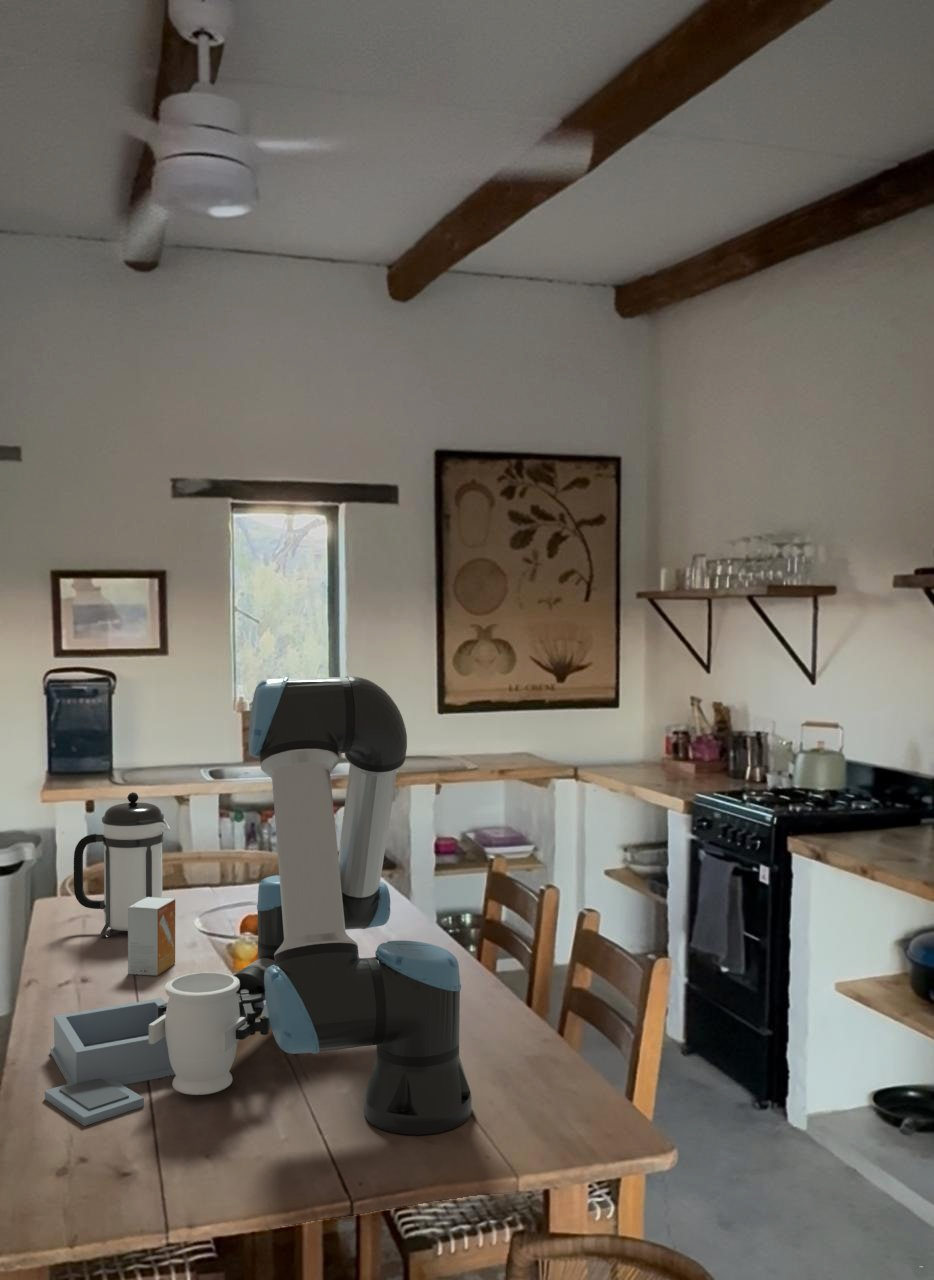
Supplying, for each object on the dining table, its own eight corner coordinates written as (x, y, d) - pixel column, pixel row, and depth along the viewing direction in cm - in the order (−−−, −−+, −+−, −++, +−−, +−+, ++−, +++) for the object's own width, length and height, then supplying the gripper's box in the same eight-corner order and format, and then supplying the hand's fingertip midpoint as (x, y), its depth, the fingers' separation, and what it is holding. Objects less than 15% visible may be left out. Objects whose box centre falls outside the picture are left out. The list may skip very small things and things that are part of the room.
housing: (196, 1070, 179) (195, 1031, 178) (73, 1095, 170) (73, 1054, 169) (163, 1032, 194) (163, 996, 194) (50, 1052, 185) (50, 1015, 185)
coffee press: (146, 916, 264) (146, 784, 263) (182, 931, 252) (181, 793, 251) (72, 931, 252) (71, 792, 251) (105, 947, 241) (104, 802, 240)
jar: (168, 1104, 164) (168, 998, 163) (161, 1074, 174) (161, 974, 173) (245, 1093, 167) (245, 990, 167) (233, 1065, 177) (234, 967, 177)
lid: (143, 1106, 166) (143, 1095, 166) (84, 1126, 160) (84, 1115, 160) (103, 1081, 175) (102, 1071, 174) (44, 1099, 168) (44, 1088, 168)
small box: (158, 976, 223) (157, 908, 222) (127, 974, 224) (126, 906, 223) (176, 963, 231) (176, 897, 230) (146, 961, 232) (146, 896, 231)
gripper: (322, 1019, 184) (261, 1073, 163) (189, 1006, 190) (114, 1056, 169) (322, 972, 184) (261, 1019, 162) (189, 960, 190) (114, 1004, 168)
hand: (186, 1038), depth 165 cm, fingers closed on jar, 10 cm apart
